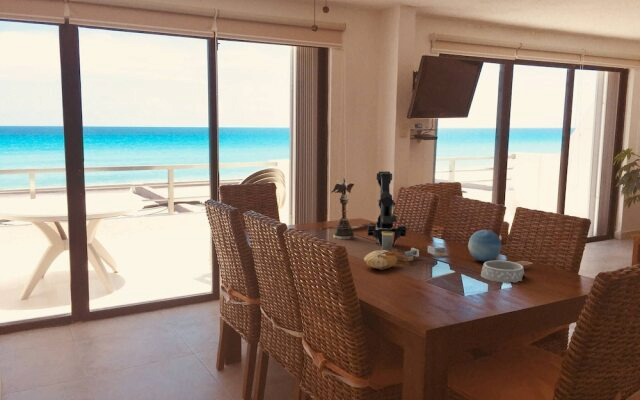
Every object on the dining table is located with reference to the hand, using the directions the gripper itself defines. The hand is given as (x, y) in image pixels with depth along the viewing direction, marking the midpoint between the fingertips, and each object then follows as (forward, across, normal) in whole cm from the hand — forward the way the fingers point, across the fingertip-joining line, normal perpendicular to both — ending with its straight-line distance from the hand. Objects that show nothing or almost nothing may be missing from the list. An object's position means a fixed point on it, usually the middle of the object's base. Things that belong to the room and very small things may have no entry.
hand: (387, 245), depth 264 cm
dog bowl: (+24, +48, -14) cm, 55 cm away
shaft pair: (+2, +18, +7) cm, 20 cm away
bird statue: (-31, -24, +41) cm, 57 cm away
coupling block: (+4, 0, +6) cm, 7 cm away
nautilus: (+17, -1, -7) cm, 18 cm away
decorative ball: (+6, +46, +4) cm, 46 cm away
